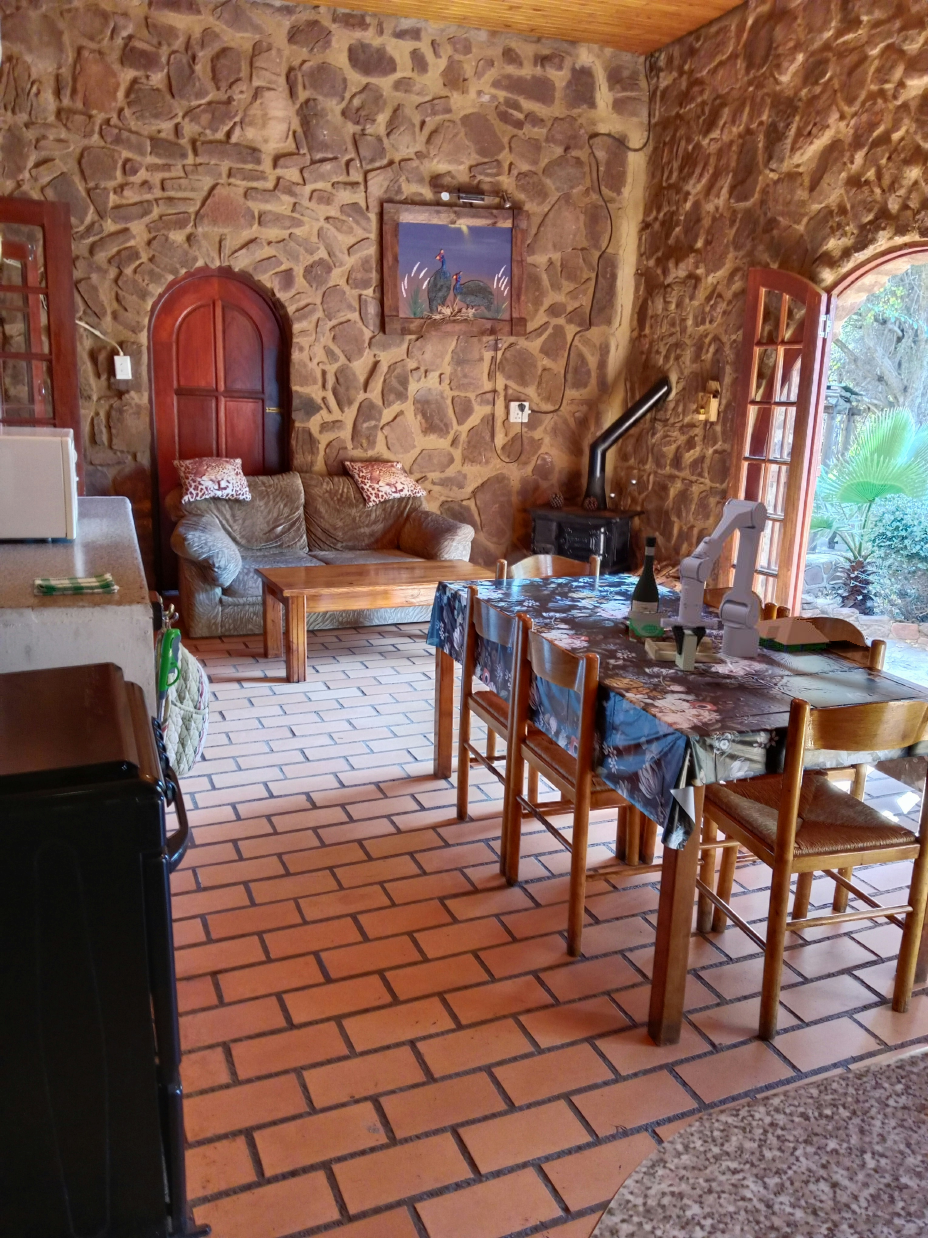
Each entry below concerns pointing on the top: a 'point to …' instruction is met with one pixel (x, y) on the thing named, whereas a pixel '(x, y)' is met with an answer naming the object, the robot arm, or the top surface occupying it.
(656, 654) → the rack
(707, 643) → the offcut upper
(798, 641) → the house
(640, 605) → the wine bottle
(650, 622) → the food container
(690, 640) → the pale green block
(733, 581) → the robot arm
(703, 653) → the offcut lower
